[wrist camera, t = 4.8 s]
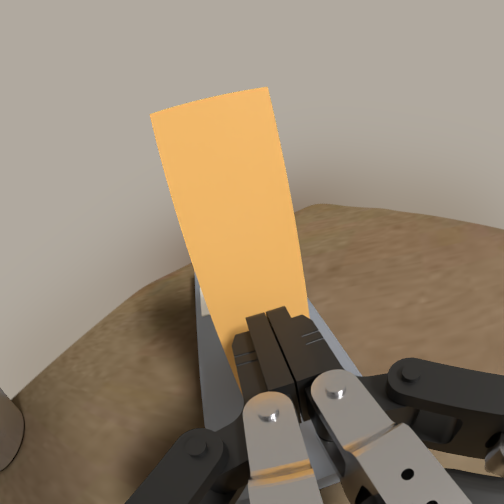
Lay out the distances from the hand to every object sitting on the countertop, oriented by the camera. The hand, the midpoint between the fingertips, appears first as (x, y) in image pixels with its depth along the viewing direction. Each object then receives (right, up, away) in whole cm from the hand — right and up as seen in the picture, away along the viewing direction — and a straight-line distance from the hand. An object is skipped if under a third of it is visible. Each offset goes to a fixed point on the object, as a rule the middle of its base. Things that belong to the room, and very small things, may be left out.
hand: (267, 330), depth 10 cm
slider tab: (+1, -4, +6) cm, 7 cm away
